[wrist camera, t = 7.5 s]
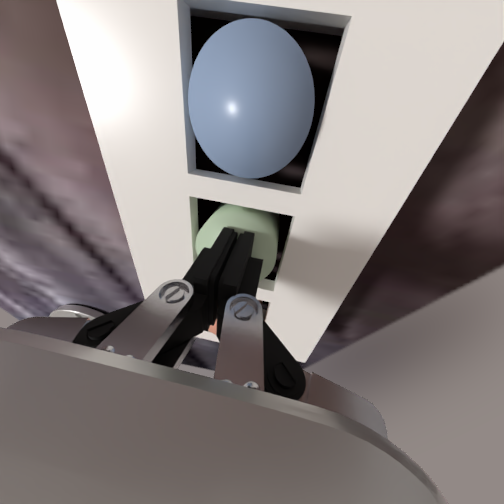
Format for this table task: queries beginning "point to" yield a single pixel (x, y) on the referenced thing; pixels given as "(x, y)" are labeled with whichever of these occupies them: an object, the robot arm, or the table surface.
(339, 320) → the table surface
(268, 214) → the sage button
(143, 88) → the button box
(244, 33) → the slate button
